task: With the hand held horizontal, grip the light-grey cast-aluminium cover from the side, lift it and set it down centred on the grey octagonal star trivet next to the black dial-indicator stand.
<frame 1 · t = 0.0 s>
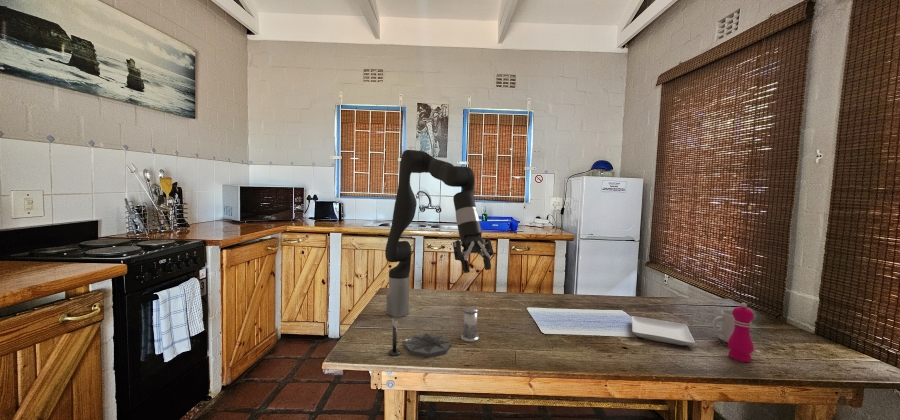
hand: (477, 271, 118), 31 cm above the table, tool tilted 20°, fingers open, 8 cm apart
pepper mill: (739, 358, 130), on the table
grey octagonal star trivet: (427, 346, 133), on the table
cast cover: (469, 338, 141), on the table
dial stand: (394, 353, 127), on the table
salad plate: (659, 335, 150), on the table
mug: (727, 340, 146), on the table
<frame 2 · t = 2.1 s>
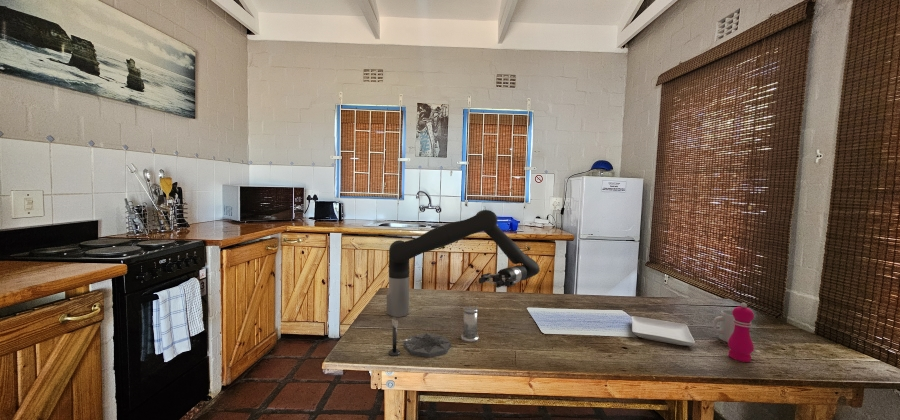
hand: (487, 283, 148), 20 cm above the table, tool horizontal, fingers open, 8 cm apart
nothing on the table moved.
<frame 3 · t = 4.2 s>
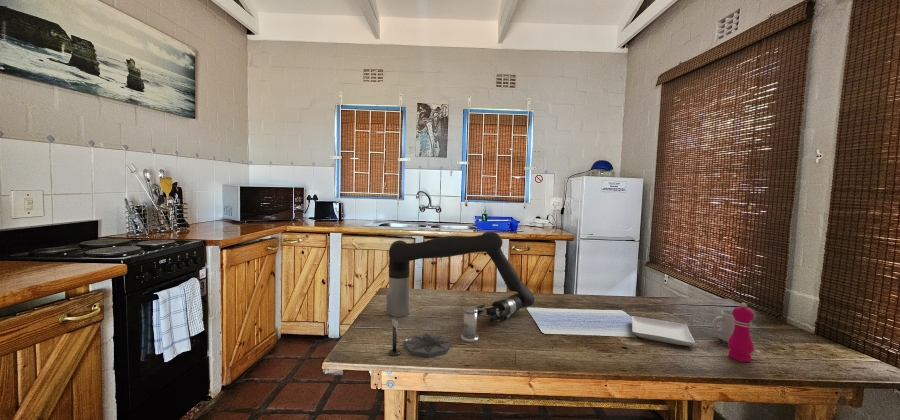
hand: (481, 317, 147), 6 cm above the table, tool horizontal, fingers open, 8 cm apart
nothing on the table moved.
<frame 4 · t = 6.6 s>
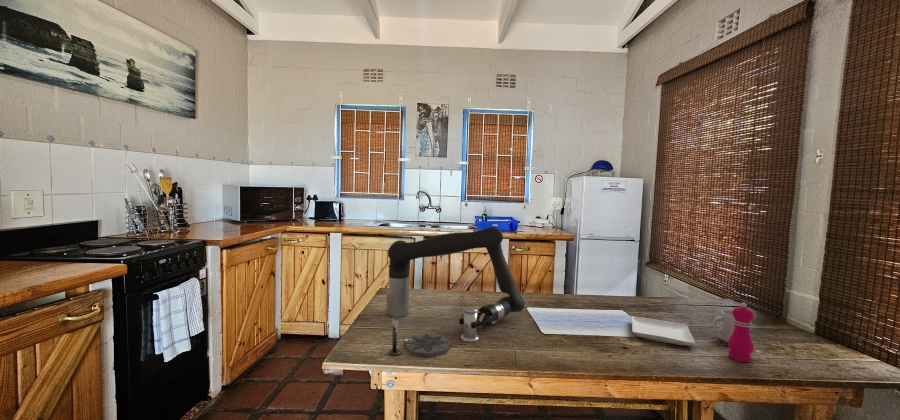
hand: (466, 323, 139), 7 cm above the table, tool horizontal, fingers closed on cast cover, 5 cm apart
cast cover: (469, 338, 141), on the table, touching gripper
everything else where it was.
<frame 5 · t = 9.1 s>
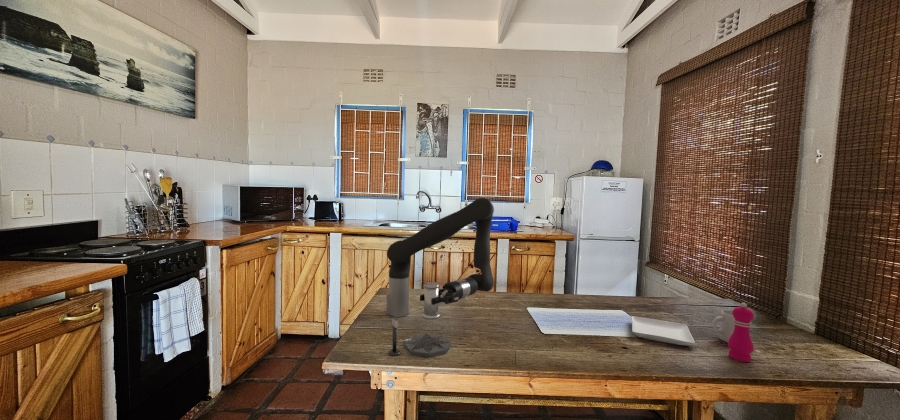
hand: (426, 300, 131), 18 cm above the table, tool horizontal, fingers closed on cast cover, 5 cm apart
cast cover: (430, 316, 133), point 11 cm above the table, touching gripper
everything else where it was.
when the fingers open (9 cm above the table, at t = 11.8 s): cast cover stays where it is, resting on grey octagonal star trivet.
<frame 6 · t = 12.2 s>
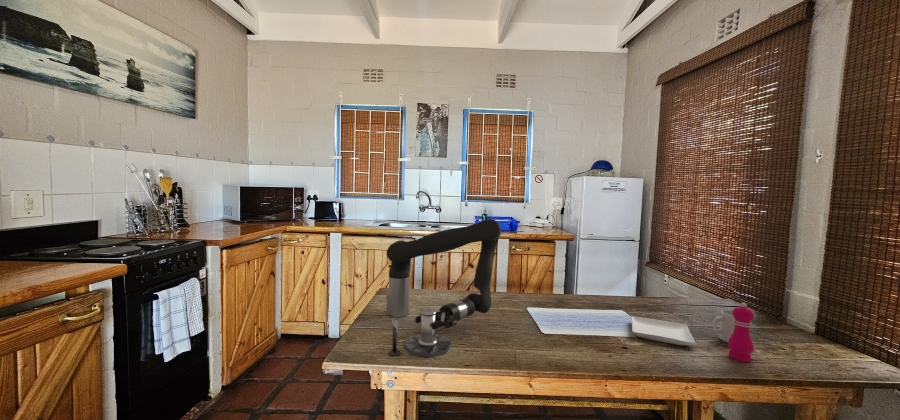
hand: (424, 323, 131), 9 cm above the table, tool horizontal, fingers open, 8 cm apart
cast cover: (427, 342, 133), point 1 cm above the table, touching grey octagonal star trivet
everything else where it was.
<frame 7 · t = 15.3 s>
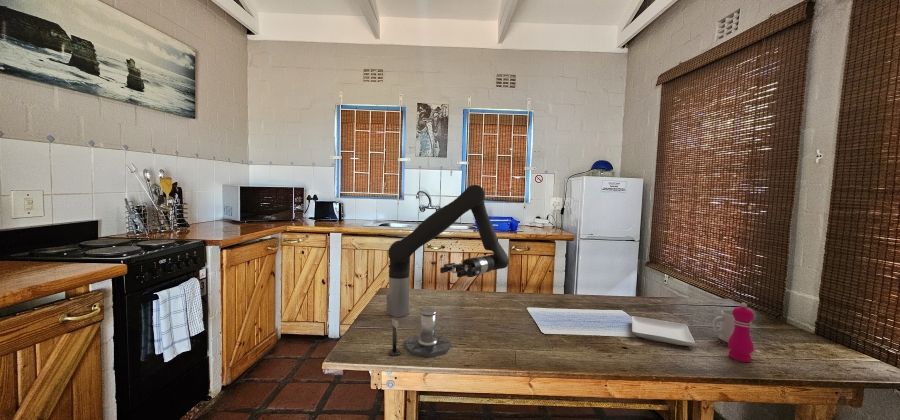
hand: (449, 272, 140), 26 cm above the table, tool horizontal, fingers open, 8 cm apart
nothing on the table moved.
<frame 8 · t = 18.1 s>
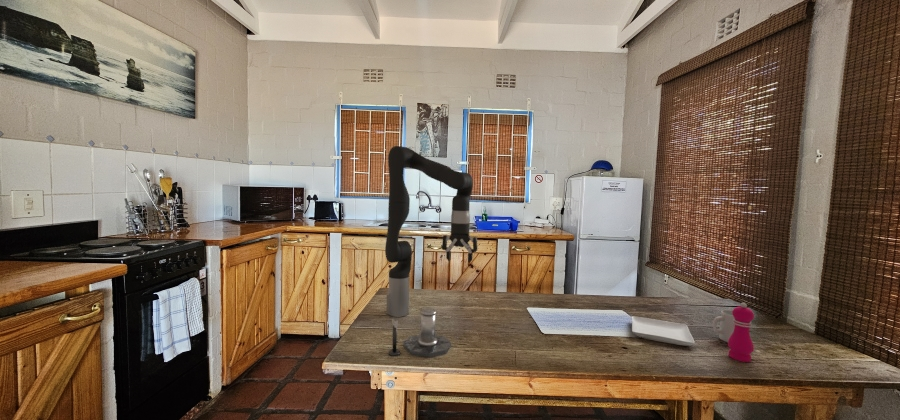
hand: (459, 261, 149), 28 cm above the table, tool pointing down, fingers open, 8 cm apart
nothing on the table moved.
at the end: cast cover 0.1 cm off-centre on the grey octagonal star trivet, point 1.5 cm above the grey octagonal star trivet's base; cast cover tilted 0°; the gripper is holding nothing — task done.
